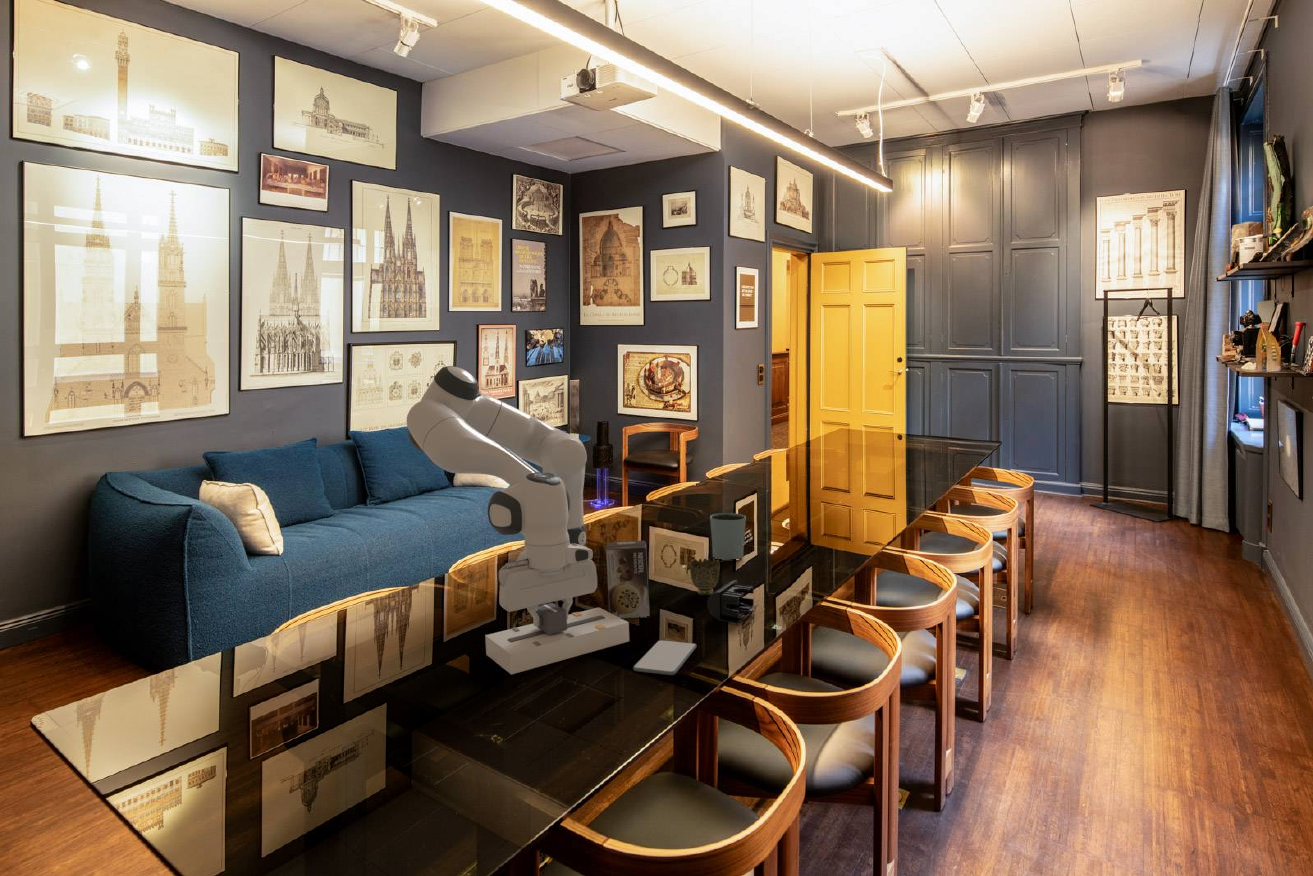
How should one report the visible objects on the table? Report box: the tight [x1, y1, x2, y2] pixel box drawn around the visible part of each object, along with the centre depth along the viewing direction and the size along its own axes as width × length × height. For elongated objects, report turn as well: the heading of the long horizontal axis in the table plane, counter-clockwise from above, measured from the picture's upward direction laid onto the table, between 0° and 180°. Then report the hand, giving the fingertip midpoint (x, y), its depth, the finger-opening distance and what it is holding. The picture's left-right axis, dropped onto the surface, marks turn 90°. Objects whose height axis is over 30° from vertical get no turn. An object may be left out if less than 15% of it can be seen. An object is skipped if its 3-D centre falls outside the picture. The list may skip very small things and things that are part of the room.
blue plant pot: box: [709, 512, 747, 560], centre depth 216 cm, size 10×10×12 cm
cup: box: [689, 558, 721, 596], centre depth 184 cm, size 8×7×8 cm
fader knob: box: [535, 602, 567, 634], centre depth 152 cm, size 4×6×4 cm, turn 34°
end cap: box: [707, 579, 755, 624], centre depth 169 cm, size 10×7×7 cm
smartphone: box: [632, 640, 697, 676], centre depth 147 cm, size 8×1×15 cm
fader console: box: [484, 607, 630, 675], centre depth 153 cm, size 26×12×4 cm, turn 124°
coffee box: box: [605, 540, 650, 619], centre depth 171 cm, size 9×6×16 cm
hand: (551, 622), depth 152 cm, fingers closed on fader knob, 4 cm apart
